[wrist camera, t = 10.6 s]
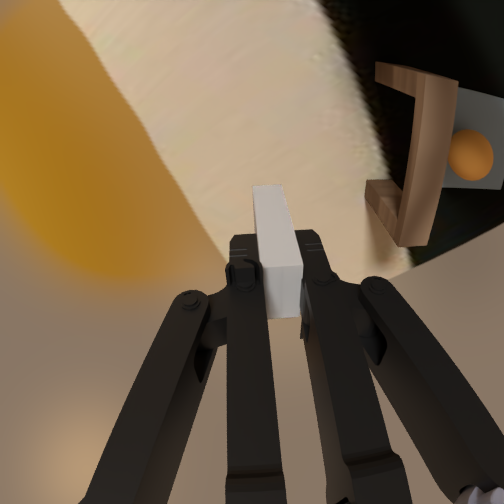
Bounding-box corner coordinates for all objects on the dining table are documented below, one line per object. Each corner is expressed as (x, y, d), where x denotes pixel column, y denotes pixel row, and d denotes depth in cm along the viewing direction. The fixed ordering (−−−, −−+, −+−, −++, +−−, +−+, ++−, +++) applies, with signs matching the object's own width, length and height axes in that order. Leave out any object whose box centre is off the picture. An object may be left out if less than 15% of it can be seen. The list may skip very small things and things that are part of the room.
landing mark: (447, 84, 25) (448, 85, 25) (518, 103, 25) (518, 103, 25) (431, 186, 32) (432, 187, 32) (499, 189, 33) (500, 189, 32)
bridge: (364, 196, 33) (398, 247, 26) (375, 61, 24) (425, 74, 17) (389, 196, 33) (426, 245, 26) (403, 65, 24) (458, 81, 17)
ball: (506, 146, 23) (487, 131, 27) (461, 131, 24) (446, 118, 28) (492, 194, 26) (476, 174, 30) (448, 182, 27) (436, 163, 32)
